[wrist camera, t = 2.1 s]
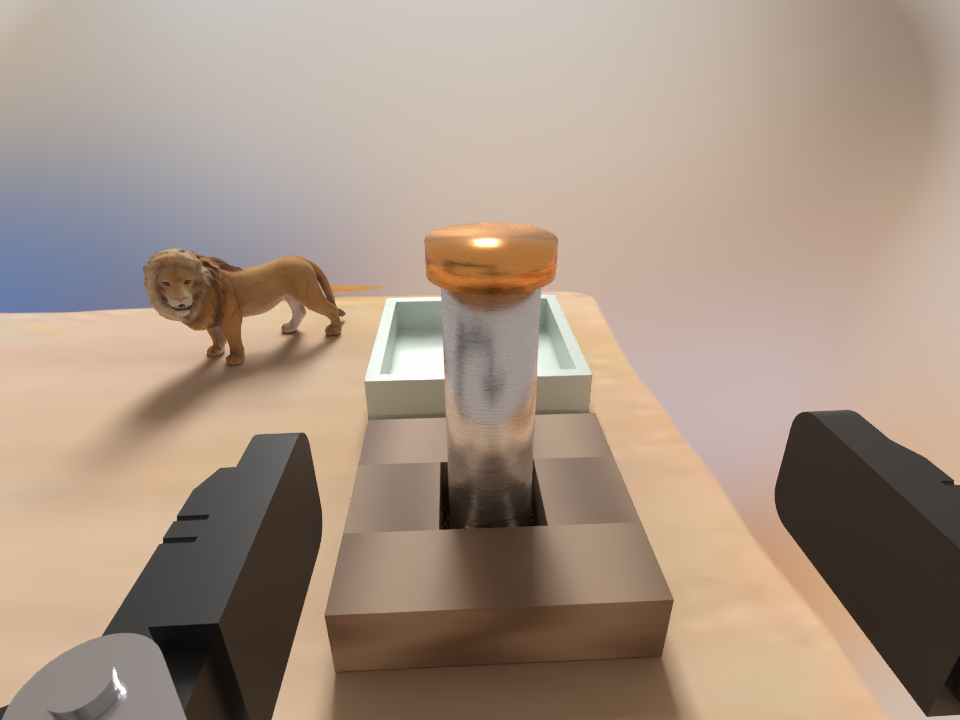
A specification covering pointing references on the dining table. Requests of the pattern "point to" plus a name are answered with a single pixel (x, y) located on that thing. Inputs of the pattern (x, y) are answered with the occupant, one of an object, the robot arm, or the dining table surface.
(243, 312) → the lion figurine
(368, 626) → the block
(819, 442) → the robot arm
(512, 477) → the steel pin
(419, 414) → the tray
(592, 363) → the dining table surface
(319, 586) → the dining table surface
